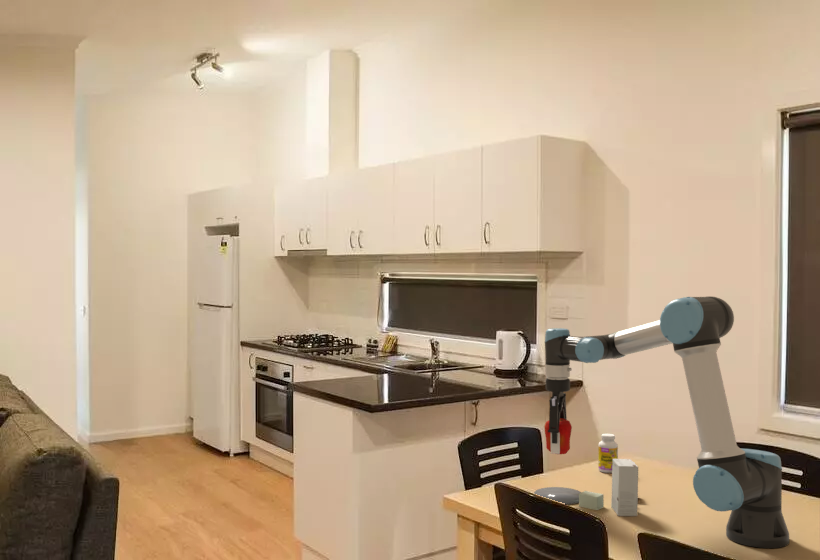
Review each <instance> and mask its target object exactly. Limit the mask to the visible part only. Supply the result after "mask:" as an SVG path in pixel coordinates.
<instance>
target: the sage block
mask: <svg viewBox="0 0 820 560" xmlns="http://www.w3.org/2000/svg"><path fill="white" fill-rule="evenodd" d="M580 492H581V493H579V503H578V507H580V508H584V509H589V510H593V511H594V510H595V511H600V509H603V508H604V501H605V500H604V493H598V492H593V491H588V490H584V491H580Z"/></svg>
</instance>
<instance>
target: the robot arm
mask: <svg viewBox="0 0 820 560" xmlns="http://www.w3.org/2000/svg"><path fill="white" fill-rule="evenodd" d="M734 322H735V315H734V311H733V309H732V307H731V305H729V303H728V302H727V301H725V300H724V299H722V298H720V297H717V296H686V297H684V296H683V297H681V298H676V299H672V300H671V301H670V302H668V303H667V304H666V305H665V306H664V308H663V310H662V312H661V314H660V317H659V319H657V320H655V321H650V322H647V323H644V324H641V325H637V326H633V327H630V328H626V329H623V330H619V331H617V332H611V333H609V334H604V335H589V336H588V335H587V336H573V335H571V333H570V329H568V328H561V327H559V328H558V327H556V328H555V327H554V328H553V327H552V328H548V329H546V331H545V335H544V346H545V347H544V348H545V349H544V351H545V353H544V354H545V365H544V367H545V368H544V372H545V373H544V374H545V375H544V376H545V377H546V378H545V390H546V391H548V392H551V393H552V394H551V396H550V398H549V401H548V402H549V418H548V419H549V420H548V421H549V430H548V432H550V434H551V452H550V454H553V455H561V454H560V432H559V422H560V418H563V419H566V420H568V419H567V418H568V417H567V401H566V399H567V394H566V392H569V391H570V390H571V379H570V377H571V371H572V367H570V364H571V361H573V362H579V363H580V362H582V363H585V364H589V363H590V364H592V363H593V364H596V363H598V362H599V361H602V360H609V359H610V360H612V359H613V360H616V359H619V358H620V359H621V358H624V357H626V356H627V355H631V354H632V355H633V354H635V353H638V352H640V353H641V352H644V351H647V350H652V349H656V348H660V347H664V346H668V345H672V346H673V347H672V348H673V352H674V353H675V354H677V355H678V356H679V357H680V358H681V360H682V365H683V369H684V374H685V379H686V384H687V387H688V392H689V399H690V402H691V407H692V412H693V416H694V421H695V425H696V431H697V435H698V439H699V445H700V452H699V453H698V455H697V456H696V461H697V466H698V468H697V469H696V471H695V473H694V475H693V477H692V485H693V490H694V492H695V494H696V496H697V498H698V499H699V500H700V502H701V503H702V504H705V506H706V507H707V508H708V509H711V510H713V511H715V512H728V511H730V514H729V517H728V521H727V523H726V525H725V527H726V528H725V533H726V538H728V539H729V540H731V541H732V542H734V543H737V544H740V545H743V546H747V547H754V548H759V549H760V548H762V549H777V548H783V547H786V546H788V545H789V544H790V532H789V529H788V526H787V524H786V520H785V518H784V515H783V510H782V502H783V499H782V495H783V494H782V489H783V487H782V482H783V481H782V479H783V478H782V477H783V476H782V471H783V467H782V461H781V459H782V458H781V457H780V456H779V455H778V454H776V453H775V452H774V453H773V452H770V451H766V450H759V449H752V448H740V447H739V446H738V444H737V439H736V435H735V430H734V427H733V421H732V418H731V417H732V416H731V413H730V409H729V404H728V400H727V399H728V398H727V395H726V389H725V385H724V381H723V377H722V372H721V368H720V363H719V359H718V354H717V352H718V349H719V348H720V347H721V346H722V342H721V338H723V337H725V336H726V335H727V334H728V333H730V332H731V330H732V328H733V326H734ZM553 427H555V428H553Z"/></svg>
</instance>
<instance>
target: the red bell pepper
mask: <svg viewBox="0 0 820 560" xmlns="http://www.w3.org/2000/svg"><path fill="white" fill-rule="evenodd" d="M543 427H544V435H545V447H546V449H547V450H548V451H549V452H550V453H551V434H550V432H548V430H549V420H547V421H545V424H544V426H543ZM553 428H555V427H553ZM572 428H573V426H572V424H571V422H570V420H568V419H567V420H566V419H563V418H560V422H559V432H560V454H559V455H565V454H568V452H569V451H570V450H571V434H572Z"/></svg>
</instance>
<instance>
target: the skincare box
mask: <svg viewBox="0 0 820 560" xmlns="http://www.w3.org/2000/svg"><path fill="white" fill-rule="evenodd" d="M611 474H612V475H611V502H610V503H611V504H610V506H611V509H612V510H613V511H614V512H615V513H616V515H617V516H618V517H638V497H639V493H638V492H639V466H638V465H637V464H636V462H635V461H633V460H632V458H618V459H613V465H612V473H611Z"/></svg>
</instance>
